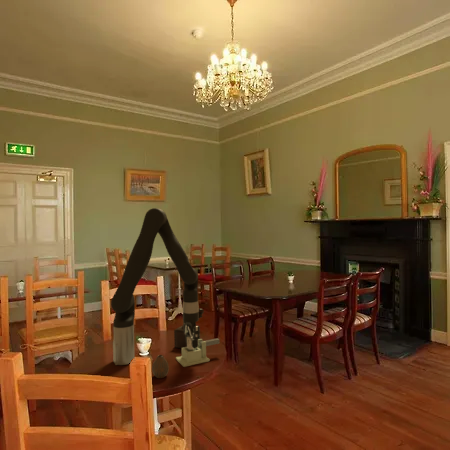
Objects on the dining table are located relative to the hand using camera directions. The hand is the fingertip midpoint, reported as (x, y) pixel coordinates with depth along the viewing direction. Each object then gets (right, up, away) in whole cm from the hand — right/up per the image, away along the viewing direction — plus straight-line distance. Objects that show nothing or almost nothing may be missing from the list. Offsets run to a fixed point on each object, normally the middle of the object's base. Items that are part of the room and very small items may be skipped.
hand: (191, 344), depth 169 cm
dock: (0, -7, 0) cm, 7 cm away
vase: (-12, -8, -16) cm, 22 cm away
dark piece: (-3, -7, +22) cm, 24 cm away
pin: (+8, -1, +4) cm, 10 cm away
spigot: (0, -6, 0) cm, 6 cm away
